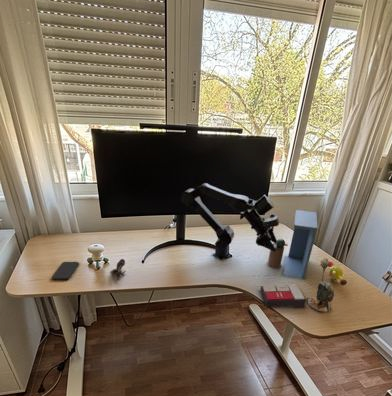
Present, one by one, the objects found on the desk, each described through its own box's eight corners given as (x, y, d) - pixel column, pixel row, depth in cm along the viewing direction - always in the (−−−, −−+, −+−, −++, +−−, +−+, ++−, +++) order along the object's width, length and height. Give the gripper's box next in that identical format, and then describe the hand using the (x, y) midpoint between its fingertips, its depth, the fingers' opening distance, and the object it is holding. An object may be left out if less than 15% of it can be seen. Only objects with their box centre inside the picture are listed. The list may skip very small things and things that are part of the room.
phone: (79, 261, 136) (68, 278, 123) (79, 263, 136) (69, 279, 123) (63, 261, 135) (50, 278, 123) (63, 263, 136) (51, 279, 123)
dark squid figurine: (131, 276, 126) (129, 263, 132) (121, 266, 121) (119, 253, 127) (117, 285, 127) (115, 272, 133) (106, 276, 122) (105, 262, 128)
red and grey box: (260, 283, 119) (297, 282, 119) (259, 292, 121) (295, 291, 121) (266, 299, 110) (306, 298, 110) (265, 308, 112) (304, 307, 112)
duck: (267, 266, 139) (271, 240, 132) (268, 261, 144) (273, 235, 136) (282, 269, 137) (288, 242, 130) (283, 263, 142) (289, 237, 135)
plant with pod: (312, 315, 108) (327, 268, 97) (305, 298, 118) (317, 253, 107) (334, 317, 108) (351, 269, 97) (325, 299, 117) (340, 254, 107)
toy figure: (320, 270, 137) (324, 257, 134) (332, 271, 137) (336, 258, 134) (334, 292, 122) (339, 278, 118) (347, 292, 122) (352, 278, 118)
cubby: (283, 275, 132) (294, 224, 119) (286, 256, 149) (296, 209, 136) (303, 279, 130) (317, 228, 117) (304, 259, 147) (316, 212, 134)
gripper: (267, 216, 120) (289, 245, 124) (272, 204, 136) (291, 230, 139) (246, 231, 127) (267, 258, 130) (253, 218, 142) (272, 242, 145)
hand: (275, 246), depth 136 cm, fingers open, 9 cm apart
